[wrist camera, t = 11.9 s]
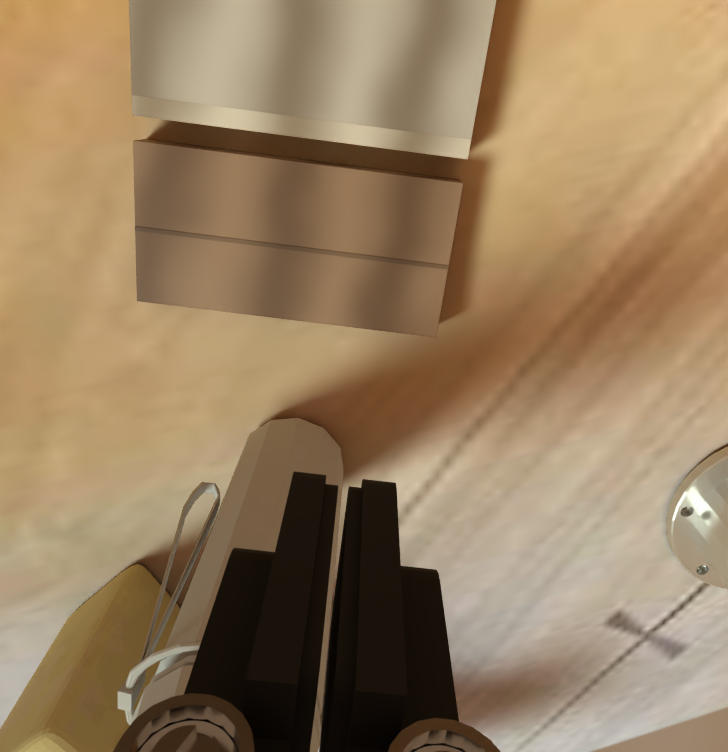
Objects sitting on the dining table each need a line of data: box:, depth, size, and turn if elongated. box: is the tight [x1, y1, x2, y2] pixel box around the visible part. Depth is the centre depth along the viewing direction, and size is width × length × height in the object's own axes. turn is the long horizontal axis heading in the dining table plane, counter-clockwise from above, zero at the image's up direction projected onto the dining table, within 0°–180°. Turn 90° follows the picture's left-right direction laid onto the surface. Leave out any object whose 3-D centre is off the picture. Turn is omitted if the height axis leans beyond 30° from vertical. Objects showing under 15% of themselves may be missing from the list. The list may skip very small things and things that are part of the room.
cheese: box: [0, 564, 181, 752], centre depth 44 cm, size 22×10×15 cm, turn 42°
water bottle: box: [118, 418, 344, 752], centre depth 32 cm, size 9×8×25 cm
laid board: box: [133, 139, 463, 337], centre depth 36 cm, size 18×9×2 cm, turn 83°
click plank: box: [129, 0, 496, 159], centre depth 32 cm, size 18×10×2 cm, turn 83°
